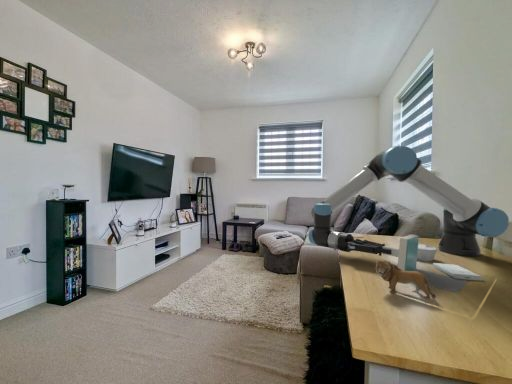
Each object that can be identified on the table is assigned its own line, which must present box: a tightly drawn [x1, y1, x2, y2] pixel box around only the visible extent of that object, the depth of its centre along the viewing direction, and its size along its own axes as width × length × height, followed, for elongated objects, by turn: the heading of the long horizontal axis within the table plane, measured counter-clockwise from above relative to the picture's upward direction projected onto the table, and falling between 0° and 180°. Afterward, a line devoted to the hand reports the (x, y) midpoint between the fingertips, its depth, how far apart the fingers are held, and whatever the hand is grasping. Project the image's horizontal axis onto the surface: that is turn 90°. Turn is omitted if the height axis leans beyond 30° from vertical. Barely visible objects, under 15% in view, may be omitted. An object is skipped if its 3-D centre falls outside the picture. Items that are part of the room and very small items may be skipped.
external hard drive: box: [432, 262, 483, 282], centre depth 82 cm, size 2×8×12 cm
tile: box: [397, 234, 420, 271], centre depth 82 cm, size 10×2×12 cm, turn 129°
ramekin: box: [417, 243, 437, 262], centre depth 101 cm, size 11×11×5 cm
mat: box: [396, 265, 469, 294], centre depth 78 cm, size 14×20×1 cm
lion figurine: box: [375, 259, 436, 300], centre depth 67 cm, size 15×5×9 cm, turn 70°
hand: (402, 253), depth 83 cm, fingers closed
